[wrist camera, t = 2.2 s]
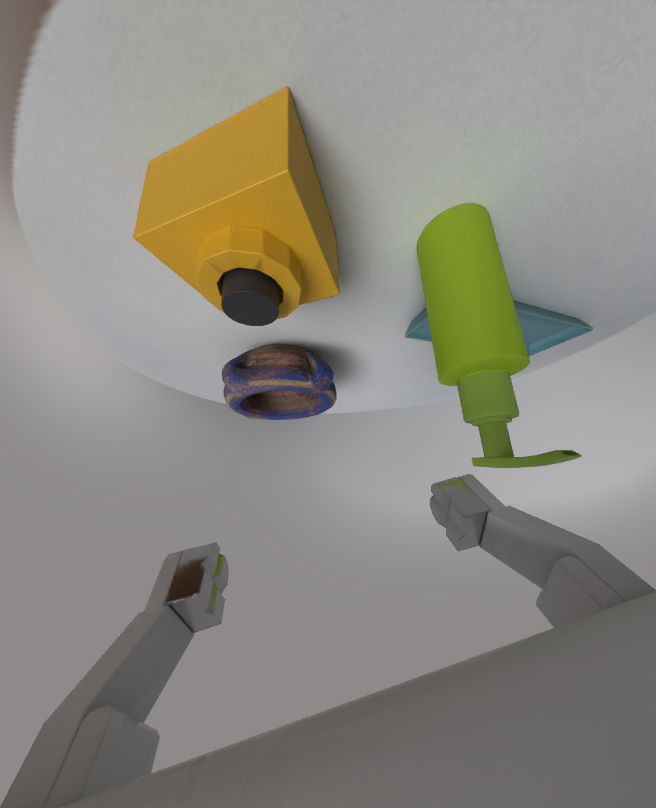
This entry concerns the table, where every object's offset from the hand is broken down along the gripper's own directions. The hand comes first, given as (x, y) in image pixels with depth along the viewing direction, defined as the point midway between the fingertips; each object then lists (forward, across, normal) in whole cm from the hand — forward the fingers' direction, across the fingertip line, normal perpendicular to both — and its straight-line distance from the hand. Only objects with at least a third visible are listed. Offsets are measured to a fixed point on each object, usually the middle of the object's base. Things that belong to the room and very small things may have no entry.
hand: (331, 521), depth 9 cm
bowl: (+37, -1, -3) cm, 37 cm away
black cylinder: (+13, -2, +8) cm, 15 cm away
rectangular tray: (+25, +30, -1) cm, 39 cm away
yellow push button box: (+18, 0, +14) cm, 22 cm away
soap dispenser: (+17, +16, +10) cm, 26 cm away
